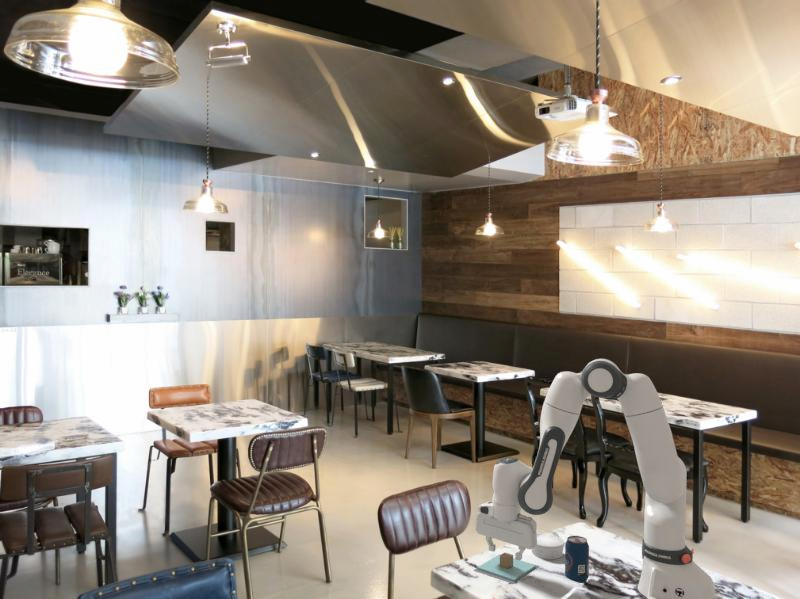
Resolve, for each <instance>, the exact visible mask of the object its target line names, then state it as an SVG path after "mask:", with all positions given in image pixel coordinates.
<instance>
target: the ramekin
mask: <svg viewBox="0 0 800 599" xmlns="http://www.w3.org/2000/svg"><path fill="white" fill-rule="evenodd" d="M565 543H566V542H565V540H564V538H561V537H560V536H558V535H554V534H548V533H547V534H546V533H539V534H537V545H536V546H535V547H534V548H532V549H530V550H531V554H532V555H534V556H535V557H537V558H539V559H544V560H555V559H560V558H562V556H563V552H564V548H565Z"/></svg>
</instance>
